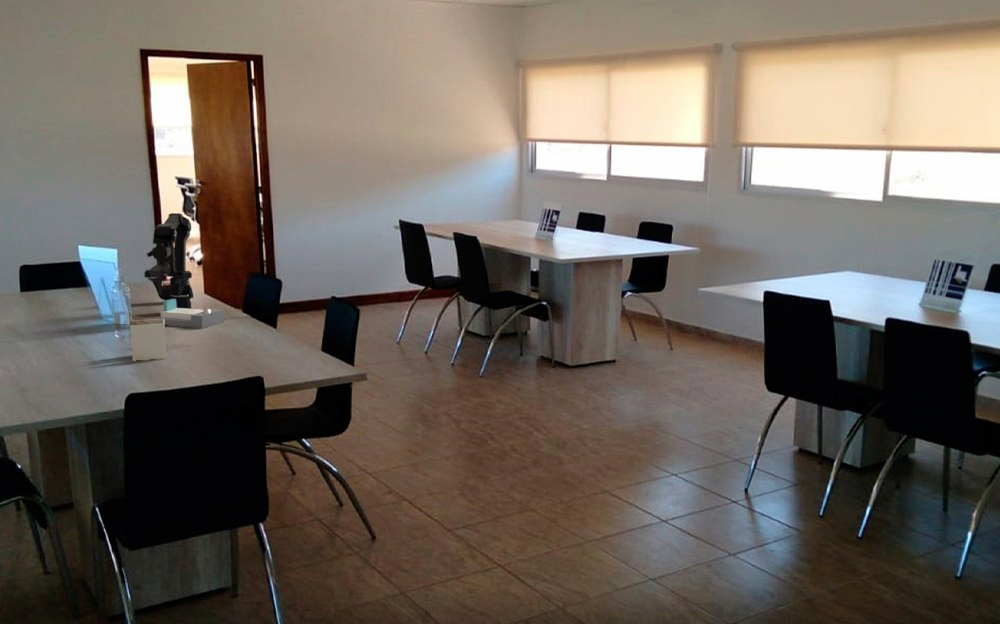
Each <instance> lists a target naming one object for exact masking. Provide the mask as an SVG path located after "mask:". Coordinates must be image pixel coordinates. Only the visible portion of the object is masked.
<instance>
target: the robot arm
mask: <svg viewBox="0 0 1000 624" xmlns="http://www.w3.org/2000/svg"><path fill="white" fill-rule="evenodd" d="M191 231H192V223H191V222H190V219H189V218H187V217H185V216H183V214H182V213H180V212H178V213H175V212H174V213H173V212H172V213H168V216H167V219H166V220H165V221H164V223H161V224H157V226H156V227H155V228H154V230H153V239H152V244H154V245H155V244H156V246H154V247H153V248H154V249H153V248H152V249H153V251H152V250H151V251H152V257H153V258H154V259H155V260H156V265H153V266H152V267H151V268H150V269H145V271H144V278H147V280H149V281H150V282H151V283H152V285H153V286H154V288H155V290H156V293H157V295H158V294H159V295H161V291H162V286H163V278H164V277H170V278H169V279H170V281H169V283H170V285H169V295H170V299H176V306H177V308H186V309H192V301H191V299H194V290H193V288H192V286H191V284H190V279H192V276H193V275H192V272H191V271H190V270H187V269H186V267H187V265H186V263H187V262H186V261H187V259H186V255H187V254H186V253H187V252H186V251H187V248H186V247H187V244H186V243H187V241H188V239H189V238H190V237H191ZM171 240H172V241H171ZM174 241H175V242H174ZM174 248H175V254H174ZM170 274H172V275H170Z"/></svg>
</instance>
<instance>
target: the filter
mask: <svg viewBox="0 0 1000 624" xmlns="http://www.w3.org/2000/svg"><path fill="white" fill-rule="evenodd" d="M171 241H172V240H171ZM174 243H175V241H174ZM154 248H155V247H153V248H152V249H151V250H150V251H149V252H147V253H146V256H147V257H148V258H150V257H153V255H152V251H153V249H154ZM174 254H175V247H174ZM170 275H172V274H170ZM170 279H171V278H165V279H164V278H163V279H162V291H161V295H159V294H158V293H157V295H158V297H159V298H160V299H161V300H163V301H166V300H170V295H169V285H170ZM165 282H166V283H165Z"/></svg>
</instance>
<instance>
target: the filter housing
mask: <svg viewBox="0 0 1000 624" xmlns="http://www.w3.org/2000/svg"><path fill="white" fill-rule="evenodd" d="M210 309H211V308H210ZM157 319H164V320H165V325H168V326H167V327H177V326H179V327H180V328H189V327H194V328H193V329H201V328H203V329H205V327H206V328H208V327H207V326H209V327H211V326H210V325H212V326H214V325H213V324H215V325H217V324H216V323H218V324H221V323H223V322H222V321H224V320H225V319H224V310H223V309H218V308H212V309H211V313H203V312H200V313H197V314H193V315H191V320H182V319H169V318H161V317H159V318H157ZM220 322H221V323H220Z"/></svg>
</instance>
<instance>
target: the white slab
mask: <svg viewBox="0 0 1000 624" xmlns="http://www.w3.org/2000/svg"><path fill="white" fill-rule="evenodd" d="M162 305H163V310H162V311H160V318H169V319H182V320H191V315H193V314H197V313H200V312H203V309H198V308H191V309H186V308H177V306H176V299H170V300H166V301H165V300H163V301H162Z"/></svg>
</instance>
